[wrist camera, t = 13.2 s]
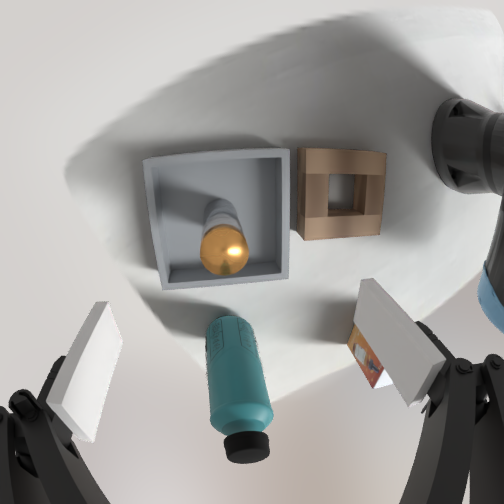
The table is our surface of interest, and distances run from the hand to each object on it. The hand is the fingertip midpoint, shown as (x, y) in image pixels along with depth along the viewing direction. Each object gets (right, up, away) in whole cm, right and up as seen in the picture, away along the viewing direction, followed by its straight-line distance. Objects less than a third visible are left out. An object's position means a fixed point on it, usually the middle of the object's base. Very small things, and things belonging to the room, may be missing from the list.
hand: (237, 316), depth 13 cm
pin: (-3, +7, +16) cm, 18 cm away
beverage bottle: (-2, -7, +24) cm, 25 cm away
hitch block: (+11, +11, +18) cm, 24 cm away
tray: (-3, +8, +17) cm, 19 cm away
